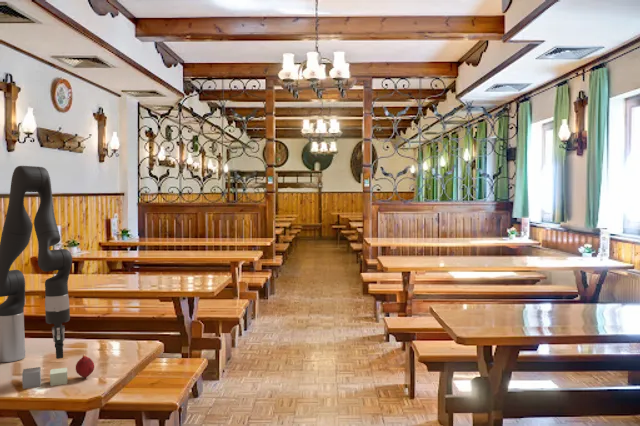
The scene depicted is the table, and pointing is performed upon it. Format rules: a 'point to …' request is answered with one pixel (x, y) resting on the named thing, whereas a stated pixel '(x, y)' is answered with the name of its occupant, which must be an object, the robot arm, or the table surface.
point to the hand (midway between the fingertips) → (59, 357)
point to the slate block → (31, 377)
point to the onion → (84, 366)
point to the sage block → (58, 376)
